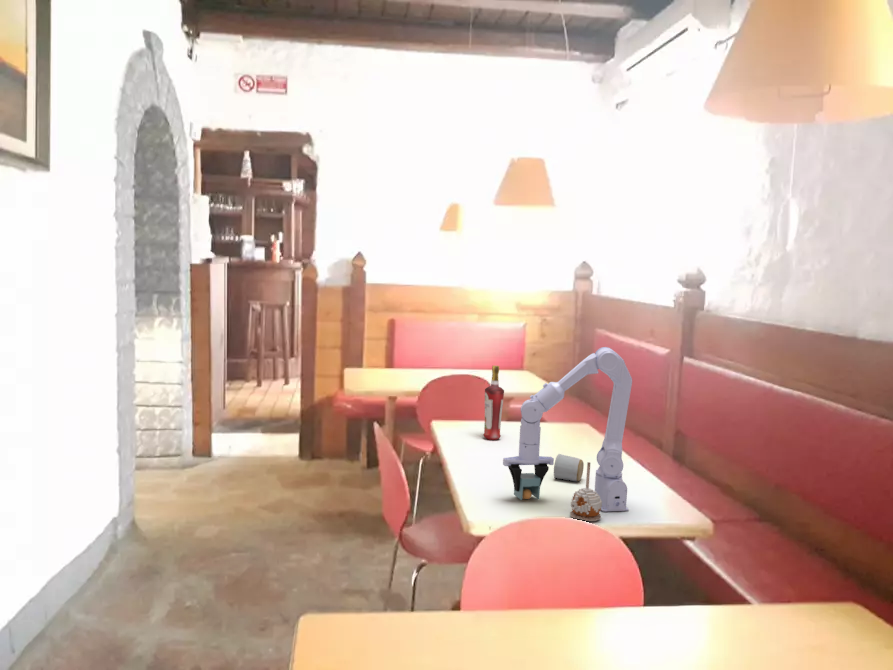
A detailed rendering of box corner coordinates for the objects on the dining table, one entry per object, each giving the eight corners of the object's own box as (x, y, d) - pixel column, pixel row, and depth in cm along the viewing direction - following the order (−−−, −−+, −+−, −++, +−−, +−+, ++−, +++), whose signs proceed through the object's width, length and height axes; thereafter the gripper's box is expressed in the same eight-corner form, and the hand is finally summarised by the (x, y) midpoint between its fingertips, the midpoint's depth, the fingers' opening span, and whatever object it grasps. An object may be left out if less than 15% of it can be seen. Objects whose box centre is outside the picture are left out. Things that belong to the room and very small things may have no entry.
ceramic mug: (578, 484, 229) (580, 459, 229) (552, 480, 232) (554, 456, 232) (585, 477, 239) (586, 453, 239) (559, 473, 242) (561, 449, 242)
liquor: (479, 436, 288) (483, 364, 286) (497, 436, 291) (501, 364, 288) (486, 441, 281) (490, 367, 279) (504, 440, 284) (508, 367, 281)
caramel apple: (564, 514, 201) (568, 459, 199) (590, 512, 203) (593, 458, 202) (580, 524, 193) (584, 467, 192) (606, 521, 196) (609, 465, 195)
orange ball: (533, 500, 211) (533, 490, 211) (523, 501, 210) (523, 490, 210) (529, 497, 214) (529, 487, 214) (519, 497, 213) (519, 487, 213)
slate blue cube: (539, 499, 210) (540, 478, 209) (520, 500, 208) (522, 478, 208) (531, 493, 215) (533, 472, 215) (513, 494, 214) (515, 473, 213)
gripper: (547, 438, 216) (545, 485, 217) (500, 439, 212) (497, 486, 214) (557, 444, 210) (554, 492, 211) (509, 445, 206) (506, 494, 207)
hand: (526, 490), depth 212 cm, fingers closed on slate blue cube, 5 cm apart
